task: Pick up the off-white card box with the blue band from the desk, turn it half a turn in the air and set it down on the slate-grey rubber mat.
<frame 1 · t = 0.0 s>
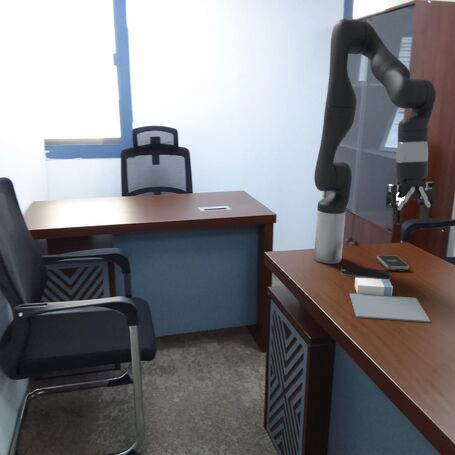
hand: (410, 223, 122), 22 cm above the table, tool pointing down, fingers open, 8 cm apart
smartphone: (365, 274, 148), on the table
mat: (387, 307, 124), on the table
external hard drive: (391, 266, 156), on the table
card box: (372, 291, 135), on the table
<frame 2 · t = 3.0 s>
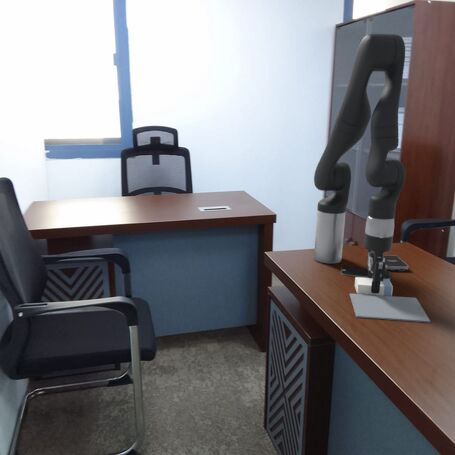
hand: (373, 288, 134), 1 cm above the table, tool pointing down, fingers closed on card box, 5 cm apart
card box: (372, 290, 135), on the table, touching gripper
everything else where it was.
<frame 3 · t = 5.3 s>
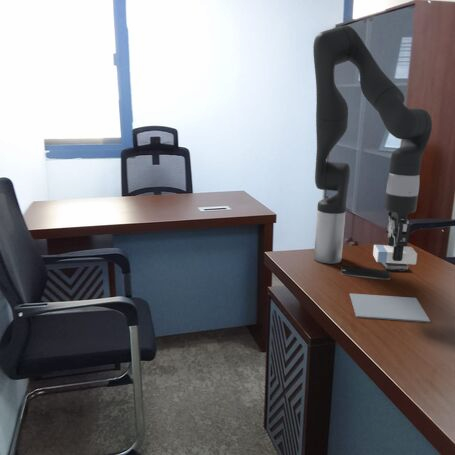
hand: (394, 256, 120), 15 cm above the table, tool pointing down, fingers closed on card box, 5 cm apart
card box: (393, 259, 120), point 14 cm above the table, touching gripper
everything else where it was.
when the fingers open (2 cm above the table, at t = 8.0 s): card box stays where it is, resting on mat.
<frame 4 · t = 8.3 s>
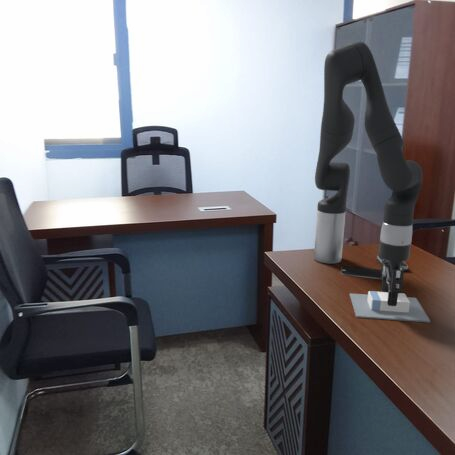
hand: (388, 298, 123), 3 cm above the table, tool pointing down, fingers open, 8 cm apart
card box: (387, 306, 124), resting on mat
everything else where it was.
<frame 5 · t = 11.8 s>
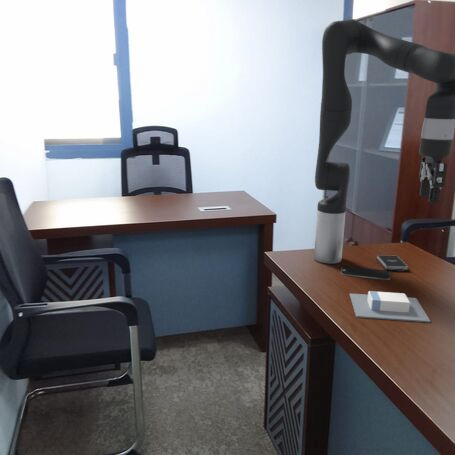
hand: (428, 199, 123), 28 cm above the table, tool pointing down, fingers open, 8 cm apart
nothing on the table moved.
at the end: card box inside the target area on the mat (0.0 cm from its centre), point 0.4 cm above the mat's base; card box tilted 0°; the gripper is holding nothing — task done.
